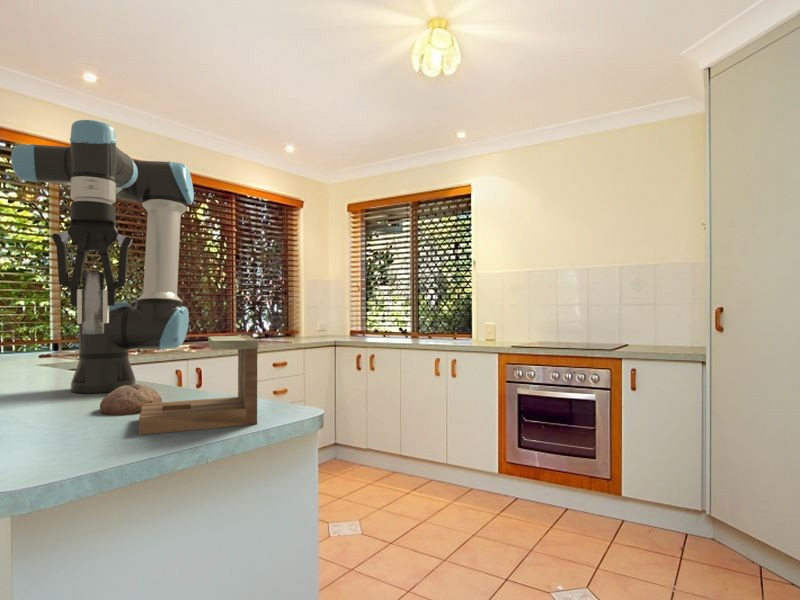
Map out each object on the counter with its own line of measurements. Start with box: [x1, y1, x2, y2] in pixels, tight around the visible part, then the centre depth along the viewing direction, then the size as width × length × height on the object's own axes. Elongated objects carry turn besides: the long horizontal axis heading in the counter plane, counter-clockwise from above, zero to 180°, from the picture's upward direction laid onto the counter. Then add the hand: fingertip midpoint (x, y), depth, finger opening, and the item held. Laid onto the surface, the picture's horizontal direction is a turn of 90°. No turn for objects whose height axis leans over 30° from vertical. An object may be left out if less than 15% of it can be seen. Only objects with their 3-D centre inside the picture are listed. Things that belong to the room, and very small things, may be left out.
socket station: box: [138, 335, 259, 436], centre depth 99 cm, size 16×20×16 cm
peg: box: [82, 271, 105, 334], centre depth 99 cm, size 4×4×12 cm
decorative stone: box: [99, 383, 163, 416], centre depth 110 cm, size 12×12×6 cm
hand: (93, 322), depth 99 cm, fingers closed on peg, 3 cm apart
